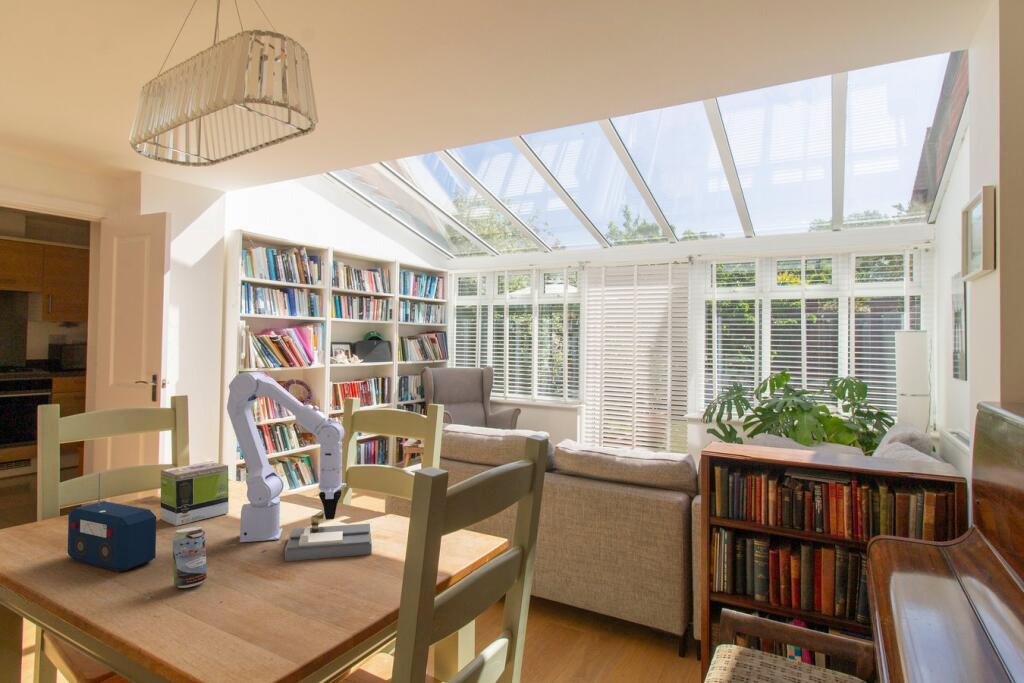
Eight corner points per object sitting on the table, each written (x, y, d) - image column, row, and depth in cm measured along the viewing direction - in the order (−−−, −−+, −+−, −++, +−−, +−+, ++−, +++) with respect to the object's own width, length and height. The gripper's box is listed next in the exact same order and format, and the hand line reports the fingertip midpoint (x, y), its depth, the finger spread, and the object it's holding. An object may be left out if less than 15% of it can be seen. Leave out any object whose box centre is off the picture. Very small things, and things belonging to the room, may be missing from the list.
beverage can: (183, 594, 114) (184, 536, 114) (164, 585, 118) (165, 529, 118) (213, 583, 120) (214, 527, 120) (194, 575, 124) (195, 521, 124)
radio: (60, 560, 130) (62, 475, 130) (100, 548, 138) (102, 467, 139) (121, 576, 123) (123, 485, 123) (159, 562, 131) (161, 476, 131)
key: (316, 531, 145) (317, 517, 145) (309, 531, 145) (309, 517, 145) (328, 523, 152) (329, 510, 152) (321, 523, 152) (322, 509, 152)
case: (284, 561, 133) (284, 548, 133) (291, 538, 148) (291, 526, 148) (371, 554, 138) (371, 541, 138) (369, 532, 154) (369, 521, 154)
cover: (298, 547, 134) (299, 536, 134) (301, 538, 140) (301, 527, 140) (342, 543, 137) (342, 533, 137) (342, 535, 143) (342, 524, 143)
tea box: (212, 507, 173) (213, 460, 173) (229, 514, 167) (230, 464, 167) (159, 519, 161) (160, 468, 161) (175, 527, 155) (176, 473, 155)
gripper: (346, 473, 144) (345, 526, 144) (346, 461, 158) (345, 510, 158) (317, 474, 142) (316, 528, 142) (320, 463, 156) (319, 511, 156)
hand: (330, 519), depth 150 cm, fingers closed
